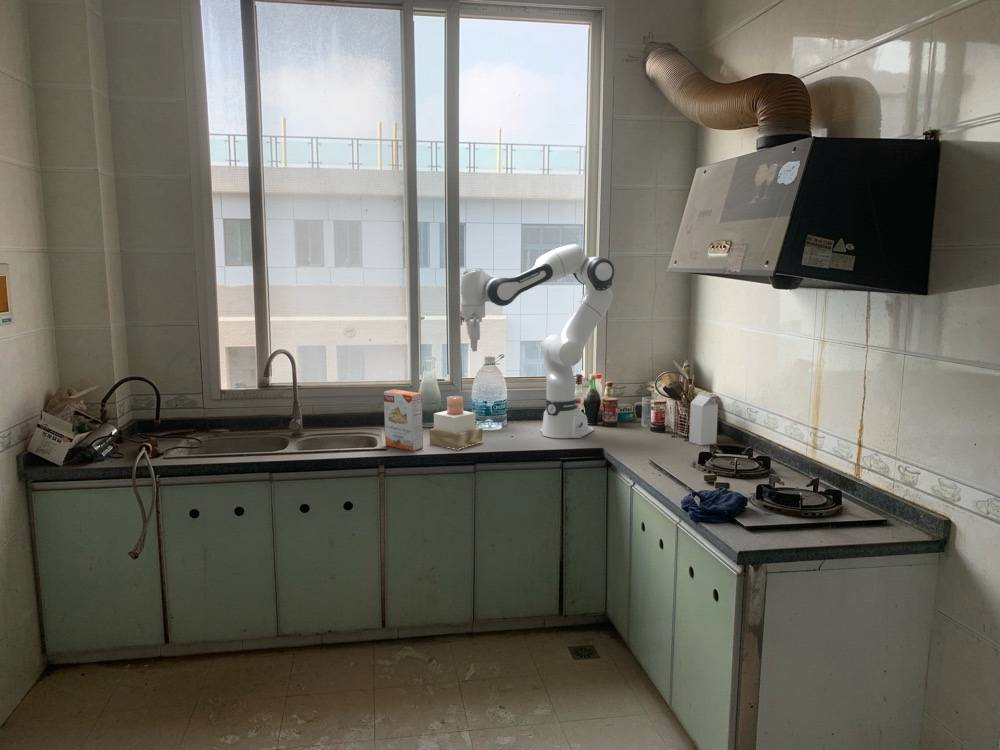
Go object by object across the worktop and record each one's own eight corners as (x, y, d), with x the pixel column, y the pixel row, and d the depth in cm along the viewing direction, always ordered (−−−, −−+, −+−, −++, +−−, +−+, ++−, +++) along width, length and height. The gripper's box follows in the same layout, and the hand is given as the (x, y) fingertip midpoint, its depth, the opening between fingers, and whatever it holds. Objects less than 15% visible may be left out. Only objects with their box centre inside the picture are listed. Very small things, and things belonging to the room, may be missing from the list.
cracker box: (384, 446, 275) (382, 391, 272) (395, 443, 280) (394, 388, 276) (412, 452, 267) (411, 395, 263) (423, 448, 272) (422, 392, 268)
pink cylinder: (454, 410, 281) (454, 395, 280) (466, 412, 278) (466, 397, 277) (443, 413, 277) (443, 397, 276) (455, 415, 273) (455, 399, 272)
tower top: (455, 424, 286) (454, 408, 285) (475, 428, 278) (475, 412, 277) (434, 429, 278) (433, 413, 277) (454, 433, 270) (454, 417, 269)
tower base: (455, 438, 289) (455, 423, 288) (482, 443, 280) (482, 428, 279) (429, 445, 278) (429, 429, 277) (457, 451, 269) (456, 435, 268)
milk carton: (700, 446, 273) (702, 395, 270) (688, 441, 280) (690, 392, 277) (716, 444, 276) (718, 394, 273) (704, 439, 282) (706, 390, 279)
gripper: (483, 314, 265) (484, 353, 268) (480, 310, 285) (480, 346, 288) (465, 315, 265) (466, 353, 267) (463, 310, 285) (464, 346, 287)
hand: (473, 349), depth 278 cm, fingers open, 8 cm apart
